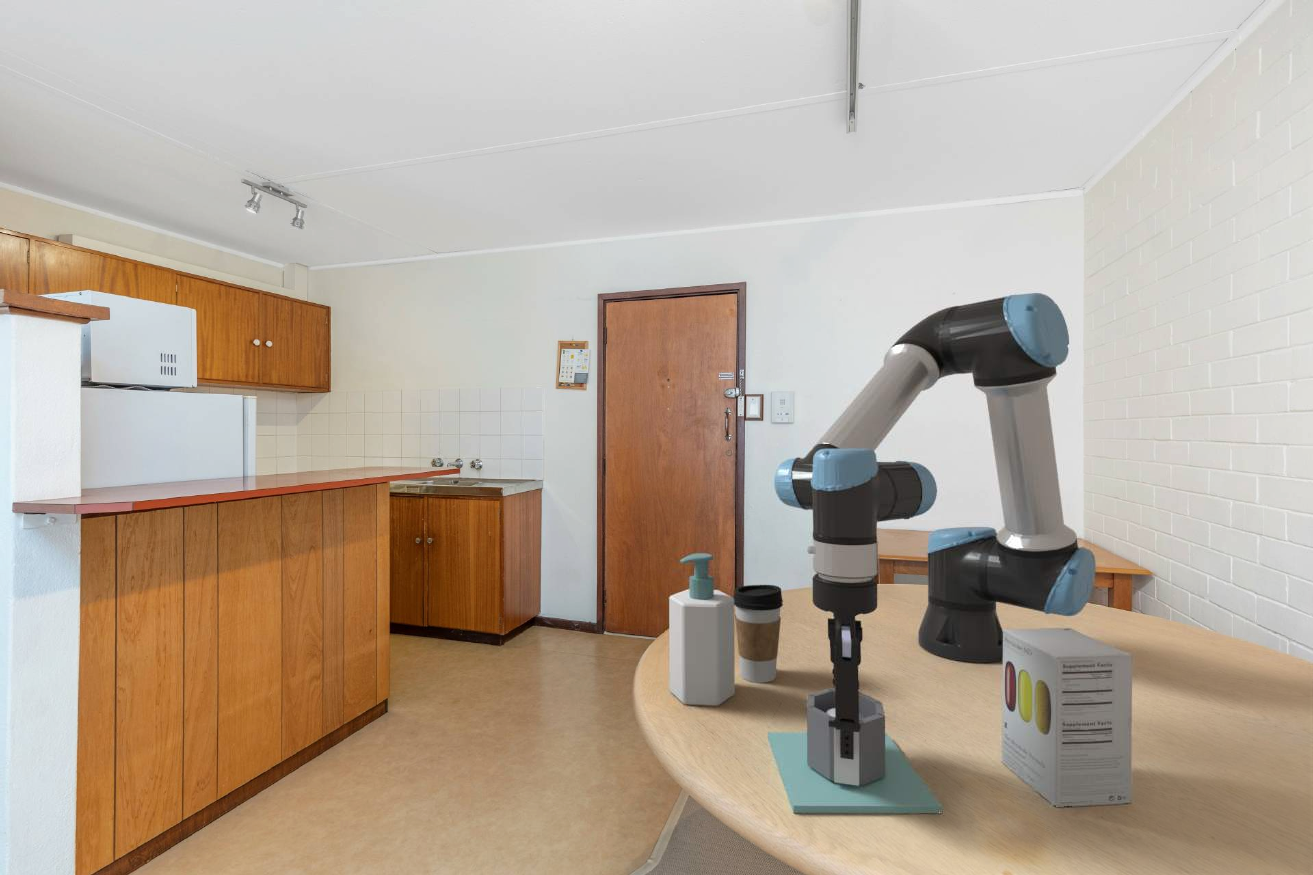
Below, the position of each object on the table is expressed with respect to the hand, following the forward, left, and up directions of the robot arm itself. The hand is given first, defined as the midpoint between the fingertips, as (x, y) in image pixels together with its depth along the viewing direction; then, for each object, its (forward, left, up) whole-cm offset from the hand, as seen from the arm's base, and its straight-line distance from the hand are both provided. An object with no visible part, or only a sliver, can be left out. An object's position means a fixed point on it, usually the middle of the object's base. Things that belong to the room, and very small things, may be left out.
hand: (845, 760), depth 72 cm
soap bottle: (+16, -22, -2) cm, 27 cm away
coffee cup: (+6, -29, -2) cm, 30 cm away
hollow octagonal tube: (0, 0, 0) cm, 0 cm away
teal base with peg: (0, 0, -1) cm, 1 cm away
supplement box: (-25, +2, -2) cm, 25 cm away
